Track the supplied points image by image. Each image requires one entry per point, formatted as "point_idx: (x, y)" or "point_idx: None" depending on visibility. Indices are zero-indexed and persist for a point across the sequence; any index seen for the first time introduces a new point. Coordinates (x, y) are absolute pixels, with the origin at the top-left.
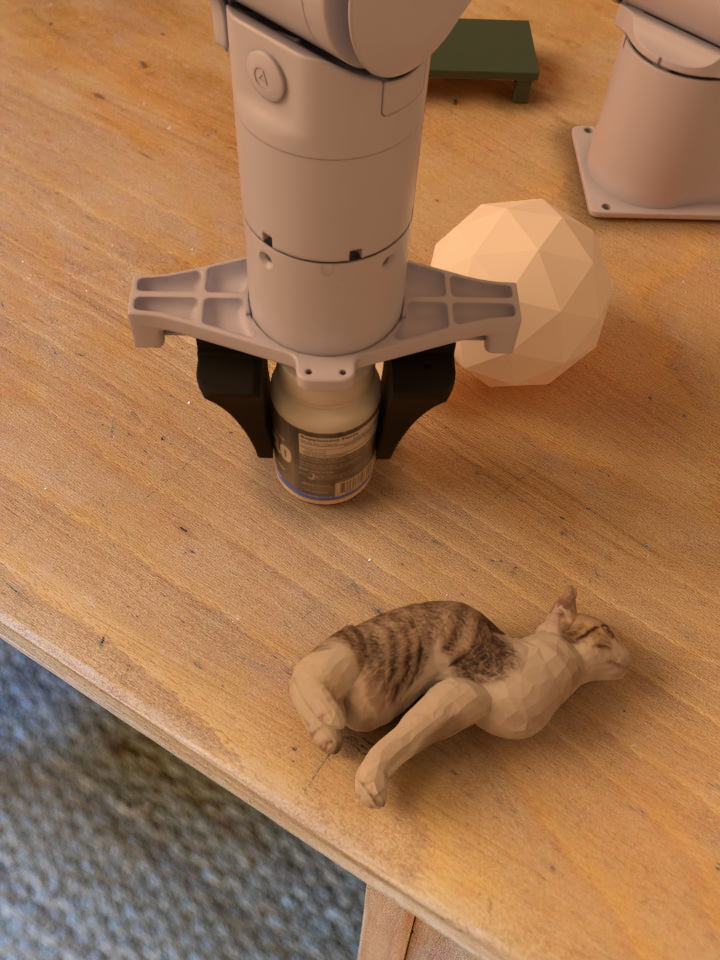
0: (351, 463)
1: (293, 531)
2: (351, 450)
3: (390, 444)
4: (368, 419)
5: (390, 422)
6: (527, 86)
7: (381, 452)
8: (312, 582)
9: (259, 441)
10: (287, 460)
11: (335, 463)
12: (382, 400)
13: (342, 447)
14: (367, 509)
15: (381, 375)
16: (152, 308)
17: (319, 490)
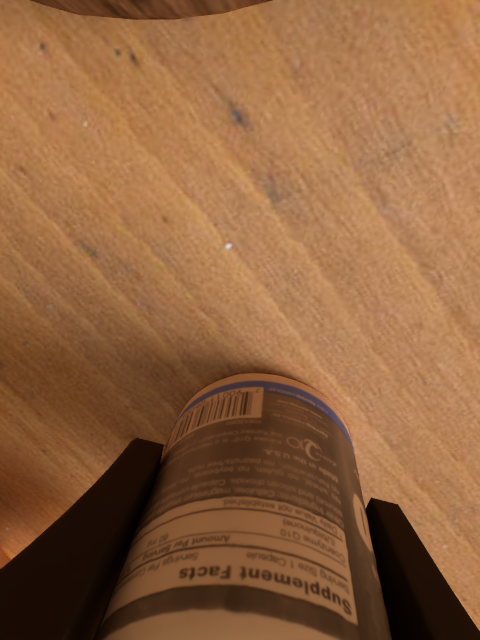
0: (217, 461)
1: (356, 340)
2: (210, 507)
3: (112, 487)
4: (135, 616)
5: (67, 595)
6: None
7: (144, 464)
8: (358, 224)
9: (427, 574)
10: (357, 498)
11: (257, 477)
12: (101, 606)
13: (233, 531)
14: (206, 347)
15: None
16: None
17: (294, 409)
